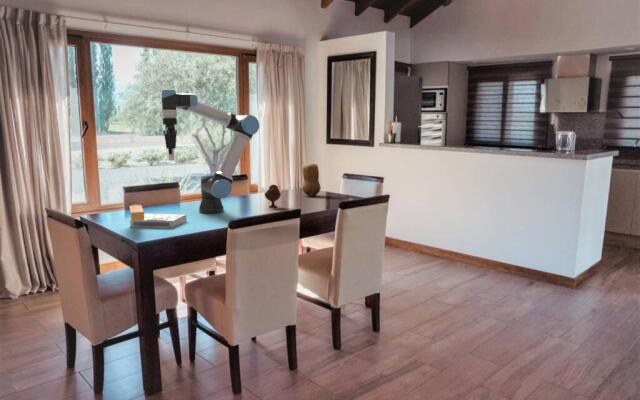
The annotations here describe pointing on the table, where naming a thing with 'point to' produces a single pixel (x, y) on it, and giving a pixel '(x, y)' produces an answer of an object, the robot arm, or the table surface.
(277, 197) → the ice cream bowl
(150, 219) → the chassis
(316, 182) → the butternut squash
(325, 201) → the table surface
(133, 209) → the long orange block
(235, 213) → the table surface
